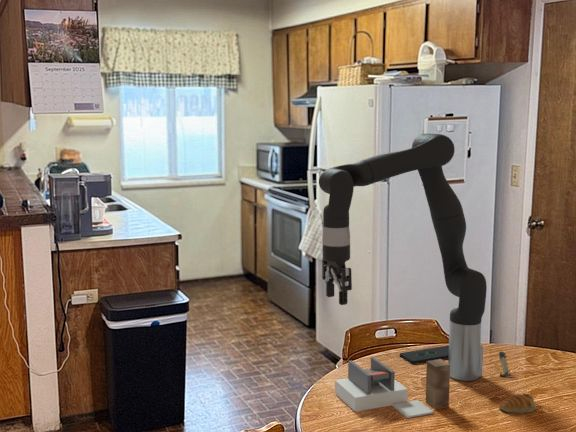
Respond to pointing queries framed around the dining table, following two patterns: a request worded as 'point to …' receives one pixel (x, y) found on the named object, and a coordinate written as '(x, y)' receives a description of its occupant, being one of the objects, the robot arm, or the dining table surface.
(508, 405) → the pastry
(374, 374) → the rocker
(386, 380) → the grey slotted holder
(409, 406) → the mat
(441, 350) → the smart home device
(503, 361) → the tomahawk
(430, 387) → the peg
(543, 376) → the dining table surface
